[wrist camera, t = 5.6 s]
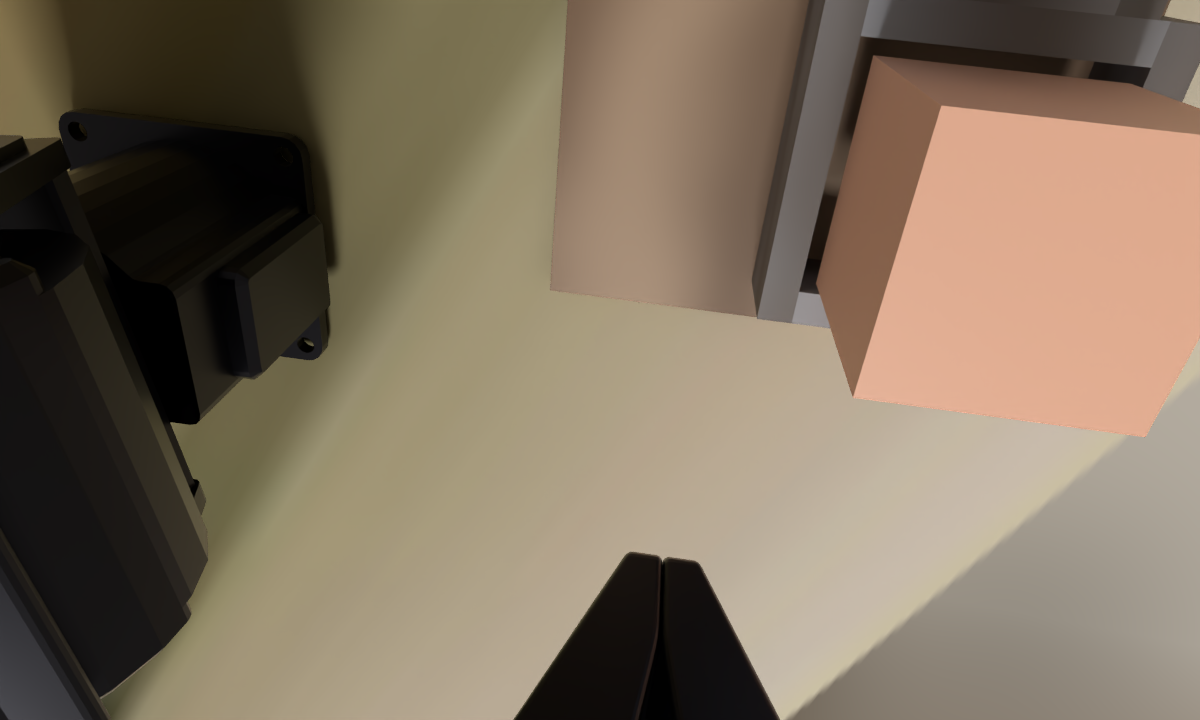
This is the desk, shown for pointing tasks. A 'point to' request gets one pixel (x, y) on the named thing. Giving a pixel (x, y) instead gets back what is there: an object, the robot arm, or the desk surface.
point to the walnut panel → (777, 127)
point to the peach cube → (1016, 245)
